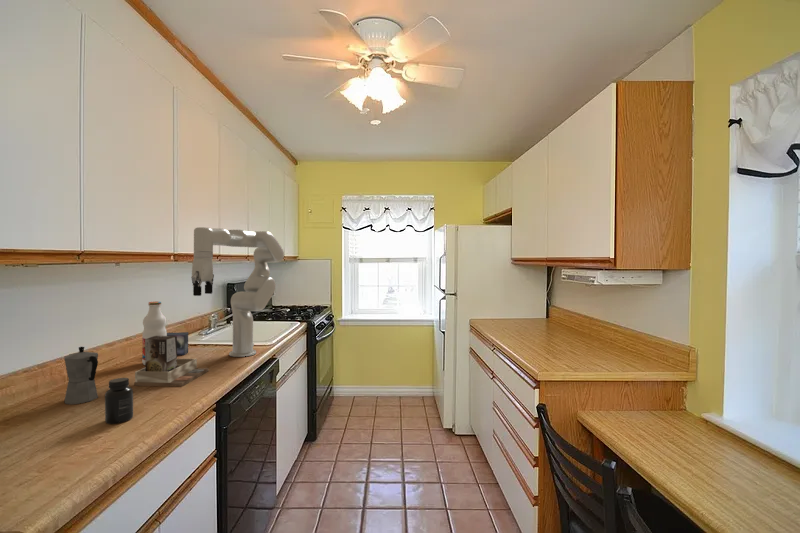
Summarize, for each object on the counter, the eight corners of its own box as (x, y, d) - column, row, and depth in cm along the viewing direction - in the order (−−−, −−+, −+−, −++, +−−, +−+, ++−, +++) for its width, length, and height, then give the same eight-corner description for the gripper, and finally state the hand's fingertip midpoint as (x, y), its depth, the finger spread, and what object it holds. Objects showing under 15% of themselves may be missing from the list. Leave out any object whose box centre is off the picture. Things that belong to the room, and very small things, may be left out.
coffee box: (177, 376, 153) (177, 335, 153) (166, 381, 147) (166, 339, 147) (156, 375, 154) (156, 335, 154) (144, 380, 148) (144, 338, 147)
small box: (160, 356, 187) (160, 335, 187) (165, 353, 194) (165, 332, 194) (184, 355, 190) (184, 334, 189) (188, 352, 196) (188, 332, 196)
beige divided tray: (166, 370, 165) (166, 358, 165) (208, 370, 165) (208, 358, 165) (134, 385, 145) (134, 372, 145) (182, 386, 145) (182, 372, 145)
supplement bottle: (134, 413, 119) (134, 375, 119) (131, 422, 113) (131, 381, 113) (107, 417, 116) (107, 378, 116) (102, 426, 110) (102, 384, 110)
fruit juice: (167, 364, 174) (167, 302, 174) (142, 366, 169) (142, 303, 169) (166, 359, 182) (166, 300, 182) (142, 361, 177) (142, 301, 177)
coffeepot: (54, 400, 129) (53, 347, 128) (86, 392, 137) (86, 342, 137) (79, 409, 122) (79, 352, 122) (112, 399, 131) (112, 346, 130)
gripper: (204, 255, 177) (204, 292, 178) (183, 255, 160) (183, 296, 161) (221, 256, 178) (220, 292, 178) (201, 255, 160) (201, 296, 161)
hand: (203, 294), depth 169 cm, fingers open, 9 cm apart
